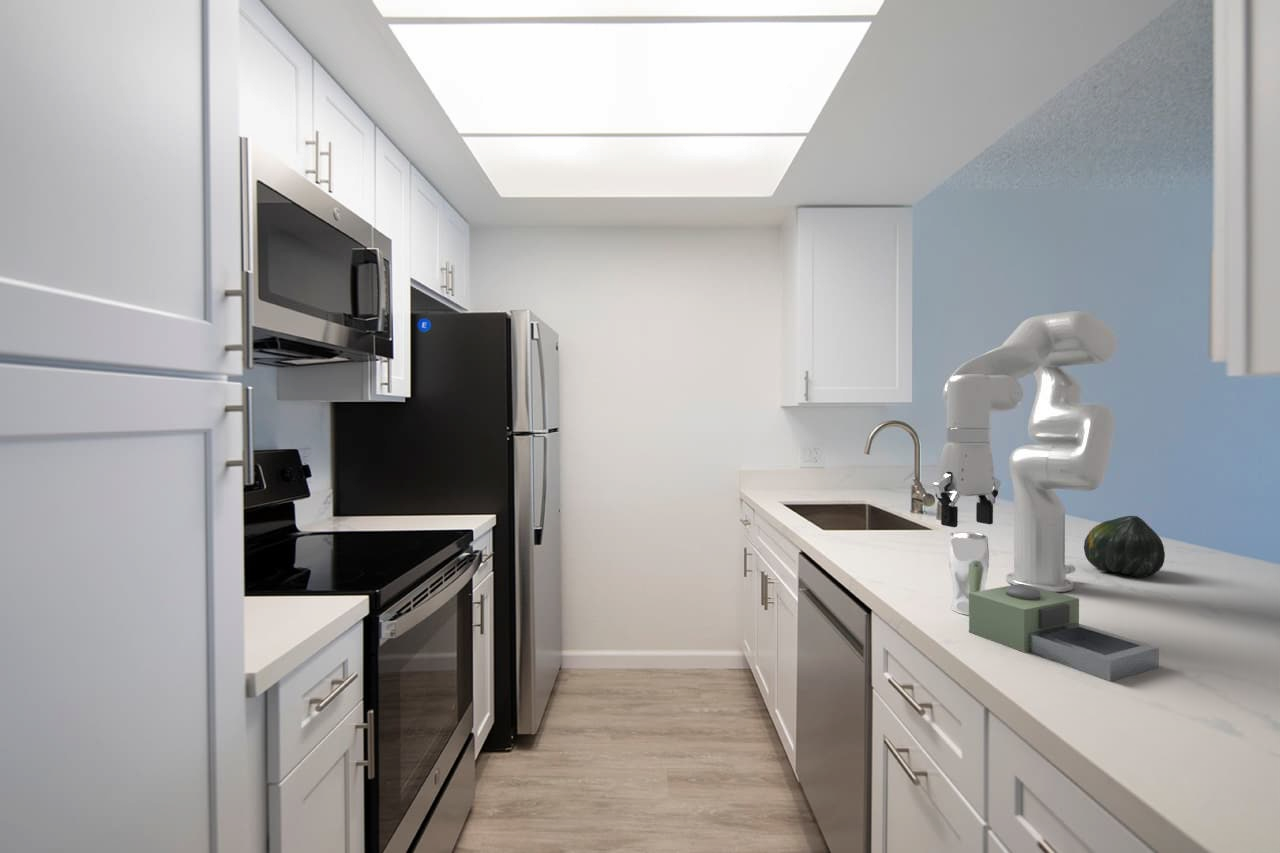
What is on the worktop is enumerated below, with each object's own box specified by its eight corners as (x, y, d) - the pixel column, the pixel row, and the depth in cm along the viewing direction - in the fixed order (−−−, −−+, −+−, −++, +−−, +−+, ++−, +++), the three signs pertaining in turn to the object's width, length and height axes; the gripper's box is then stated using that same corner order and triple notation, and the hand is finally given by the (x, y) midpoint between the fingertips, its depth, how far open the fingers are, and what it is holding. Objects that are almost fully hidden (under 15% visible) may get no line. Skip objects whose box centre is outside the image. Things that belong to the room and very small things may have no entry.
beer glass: (955, 603, 122) (955, 530, 122) (993, 610, 117) (993, 534, 117) (943, 611, 117) (943, 535, 117) (982, 619, 112) (982, 540, 112)
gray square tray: (1075, 639, 102) (1075, 622, 102) (1158, 666, 91) (1158, 647, 91) (1028, 651, 97) (1028, 633, 97) (1110, 681, 86) (1110, 660, 86)
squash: (1075, 540, 155) (1088, 502, 146) (1147, 546, 149) (1166, 508, 140) (1085, 586, 146) (1100, 550, 136) (1162, 595, 140) (1184, 558, 130)
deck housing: (1022, 620, 111) (1022, 578, 111) (1082, 640, 102) (1082, 593, 101) (969, 631, 106) (969, 587, 106) (1027, 653, 96) (1027, 604, 96)
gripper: (981, 437, 123) (980, 519, 123) (919, 437, 117) (918, 524, 117) (1016, 438, 116) (1015, 525, 116) (953, 438, 110) (952, 530, 110)
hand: (967, 524), depth 117 cm, fingers open, 9 cm apart
